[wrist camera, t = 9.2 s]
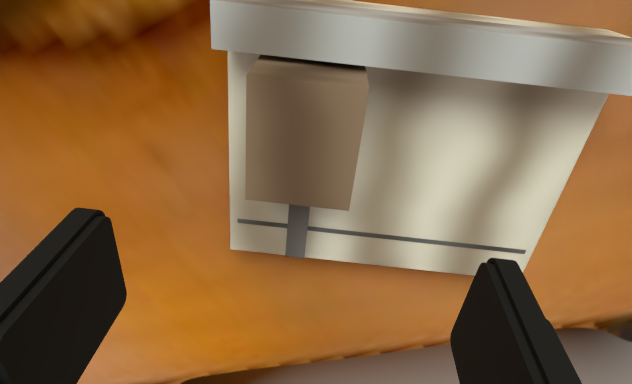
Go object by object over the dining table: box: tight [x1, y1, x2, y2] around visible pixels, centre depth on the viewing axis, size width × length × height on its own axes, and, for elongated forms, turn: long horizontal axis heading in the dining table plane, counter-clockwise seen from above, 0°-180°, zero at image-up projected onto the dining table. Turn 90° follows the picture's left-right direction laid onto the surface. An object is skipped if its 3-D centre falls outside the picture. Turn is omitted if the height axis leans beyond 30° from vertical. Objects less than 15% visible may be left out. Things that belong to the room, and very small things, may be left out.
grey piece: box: [210, 0, 632, 276], centre depth 24 cm, size 20×16×6 cm
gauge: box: [245, 54, 370, 258], centre depth 22 cm, size 5×12×5 cm, turn 174°
